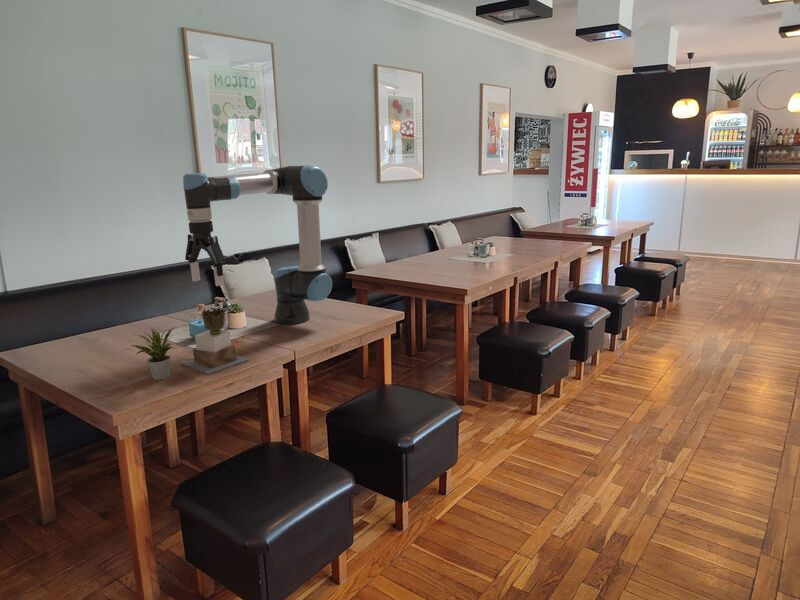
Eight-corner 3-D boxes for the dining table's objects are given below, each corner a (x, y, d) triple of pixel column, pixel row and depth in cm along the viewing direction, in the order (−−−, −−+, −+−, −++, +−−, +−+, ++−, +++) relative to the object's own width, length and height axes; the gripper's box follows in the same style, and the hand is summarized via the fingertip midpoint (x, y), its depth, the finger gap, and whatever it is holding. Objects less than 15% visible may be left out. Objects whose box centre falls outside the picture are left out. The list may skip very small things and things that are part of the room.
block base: (219, 354, 201) (218, 340, 199) (236, 359, 194) (235, 346, 193) (194, 362, 193) (192, 348, 192) (211, 368, 187) (209, 354, 186)
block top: (213, 342, 198) (211, 328, 196) (231, 345, 194) (229, 331, 193) (196, 349, 191) (194, 335, 189) (215, 352, 187) (213, 337, 186)
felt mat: (222, 351, 205) (222, 350, 205) (249, 360, 195) (249, 359, 195) (181, 364, 193) (181, 363, 193) (208, 374, 183) (208, 373, 183)
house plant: (163, 365, 193) (157, 319, 189) (195, 370, 187) (189, 323, 183) (129, 380, 180) (122, 331, 176) (162, 386, 175) (155, 335, 171)
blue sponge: (185, 337, 224) (183, 318, 222) (199, 333, 228) (197, 315, 226) (202, 342, 216) (200, 323, 214) (216, 338, 221) (214, 320, 219)
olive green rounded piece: (206, 338, 186) (203, 315, 184) (202, 333, 192) (199, 310, 190) (229, 335, 189) (226, 312, 187) (224, 329, 195) (222, 307, 193)
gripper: (169, 220, 192) (177, 281, 198) (212, 224, 177) (220, 289, 183) (189, 218, 198) (196, 277, 203) (232, 221, 183) (239, 284, 188)
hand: (207, 283), depth 193 cm, fingers open, 13 cm apart
